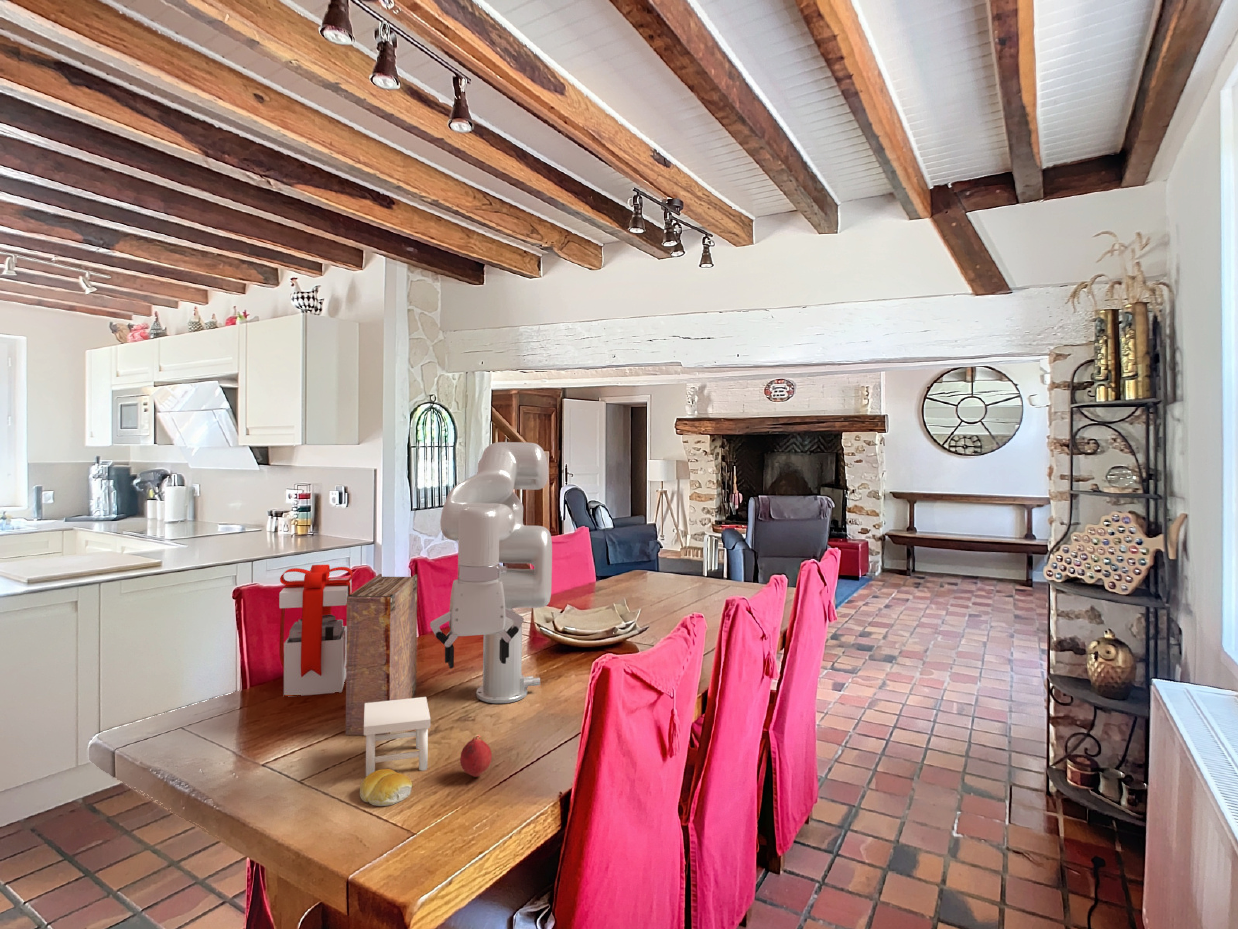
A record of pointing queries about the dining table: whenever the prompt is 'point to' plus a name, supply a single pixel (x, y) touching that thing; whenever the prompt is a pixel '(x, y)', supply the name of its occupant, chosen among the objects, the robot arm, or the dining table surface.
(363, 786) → the bread roll
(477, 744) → the onion
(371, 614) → the book
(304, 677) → the gift wrap
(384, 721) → the stool
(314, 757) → the dining table surface
